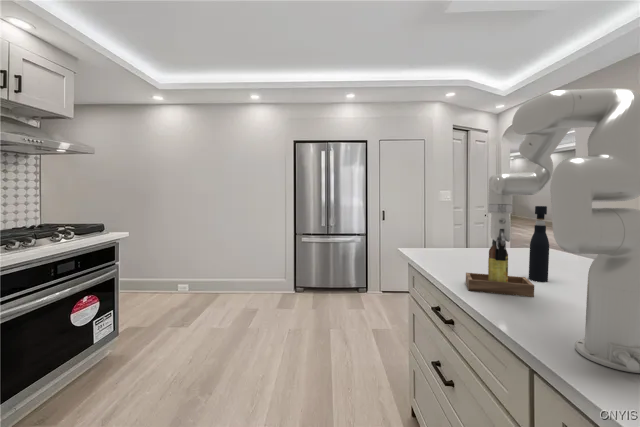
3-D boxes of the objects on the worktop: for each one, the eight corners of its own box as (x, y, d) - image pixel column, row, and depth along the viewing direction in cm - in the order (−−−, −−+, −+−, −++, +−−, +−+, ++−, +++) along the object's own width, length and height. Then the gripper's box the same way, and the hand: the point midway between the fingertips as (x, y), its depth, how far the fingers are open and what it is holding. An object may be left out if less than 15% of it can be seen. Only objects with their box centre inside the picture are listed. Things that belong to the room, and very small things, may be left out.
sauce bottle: (510, 289, 110) (512, 233, 109) (491, 288, 111) (492, 233, 110) (503, 284, 116) (505, 231, 115) (485, 283, 117) (486, 231, 116)
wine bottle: (531, 281, 124) (534, 206, 123) (526, 277, 130) (529, 205, 129) (550, 282, 122) (553, 206, 121) (544, 278, 128) (547, 206, 127)
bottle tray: (533, 297, 105) (534, 285, 105) (468, 290, 112) (468, 279, 112) (524, 287, 116) (525, 277, 115) (465, 282, 123) (465, 272, 122)
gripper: (518, 210, 103) (516, 264, 104) (506, 208, 119) (505, 254, 120) (492, 210, 105) (490, 262, 106) (484, 208, 121) (483, 253, 122)
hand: (498, 258), depth 113 cm, fingers open, 6 cm apart
